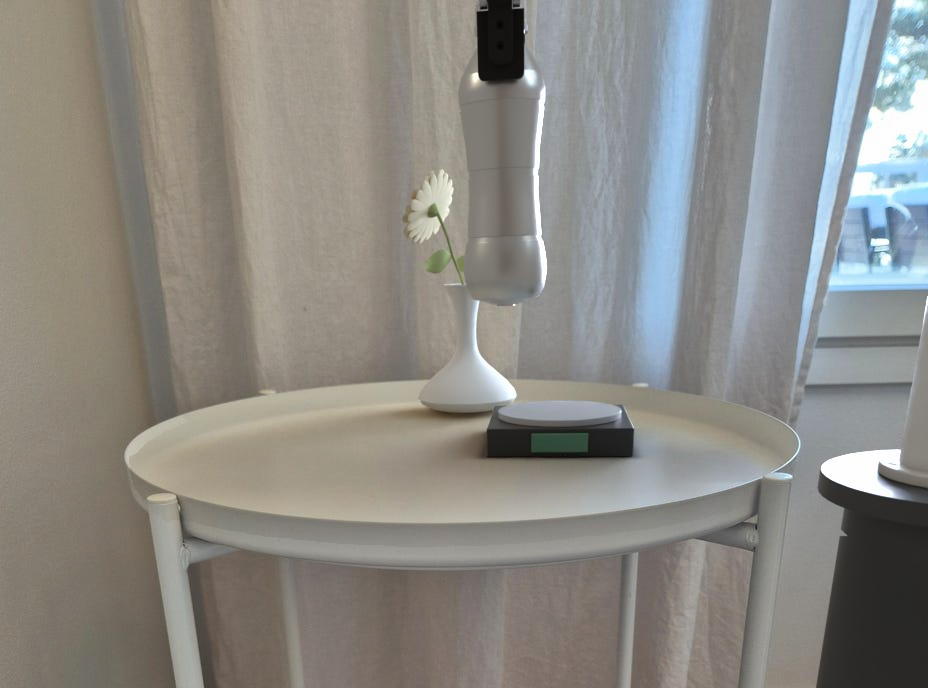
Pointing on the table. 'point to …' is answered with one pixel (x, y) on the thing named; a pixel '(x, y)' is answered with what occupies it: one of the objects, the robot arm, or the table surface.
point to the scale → (560, 430)
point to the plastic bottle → (503, 182)
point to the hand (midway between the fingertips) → (502, 85)
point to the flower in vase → (467, 373)
